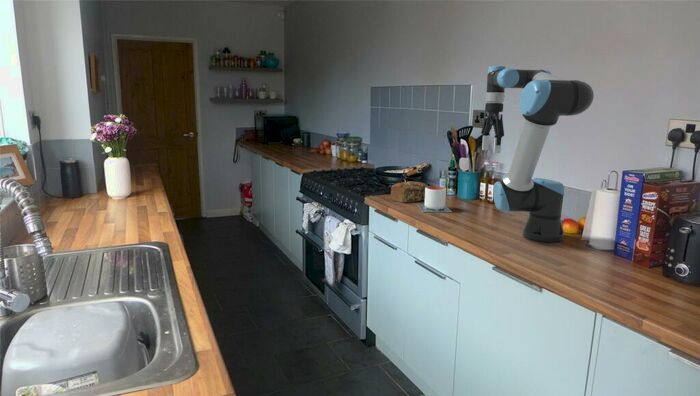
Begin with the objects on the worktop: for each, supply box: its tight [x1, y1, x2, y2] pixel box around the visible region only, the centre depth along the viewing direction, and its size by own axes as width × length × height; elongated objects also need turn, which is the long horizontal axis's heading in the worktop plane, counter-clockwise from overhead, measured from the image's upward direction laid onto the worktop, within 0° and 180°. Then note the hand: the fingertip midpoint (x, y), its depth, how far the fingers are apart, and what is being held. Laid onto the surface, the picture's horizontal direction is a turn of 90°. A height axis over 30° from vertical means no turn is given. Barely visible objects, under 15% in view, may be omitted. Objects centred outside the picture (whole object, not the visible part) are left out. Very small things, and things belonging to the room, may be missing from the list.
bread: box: [390, 180, 428, 204], centre depth 251 cm, size 19×11×10 cm, turn 124°
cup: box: [423, 185, 447, 210], centre depth 229 cm, size 10×10×10 cm
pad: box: [417, 204, 453, 214], centre depth 231 cm, size 14×14×1 cm
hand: (490, 151), depth 208 cm, fingers open, 13 cm apart
